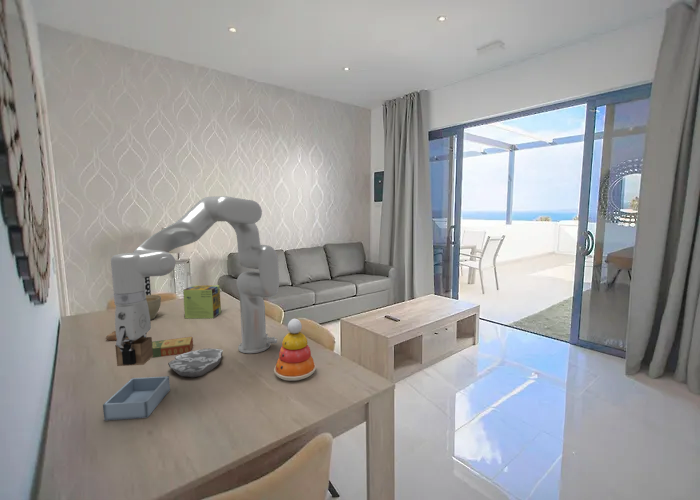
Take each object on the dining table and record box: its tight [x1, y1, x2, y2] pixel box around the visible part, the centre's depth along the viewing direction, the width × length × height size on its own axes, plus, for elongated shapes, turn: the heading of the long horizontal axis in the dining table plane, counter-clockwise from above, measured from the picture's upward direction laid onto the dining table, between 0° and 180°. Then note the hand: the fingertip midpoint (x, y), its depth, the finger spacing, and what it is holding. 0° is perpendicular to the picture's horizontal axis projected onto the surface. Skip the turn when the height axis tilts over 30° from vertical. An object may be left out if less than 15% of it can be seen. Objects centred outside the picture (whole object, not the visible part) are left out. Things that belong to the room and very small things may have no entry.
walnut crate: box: [115, 336, 153, 367], centre depth 97 cm, size 7×6×6 cm
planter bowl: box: [146, 294, 162, 321], centre depth 177 cm, size 16×16×11 cm
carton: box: [151, 336, 194, 359], centre depth 136 cm, size 8×16×4 cm, turn 108°
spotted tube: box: [145, 276, 152, 295], centre depth 199 cm, size 8×8×20 cm
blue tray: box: [102, 375, 171, 421], centre depth 99 cm, size 11×14×4 cm
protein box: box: [182, 284, 222, 320], centre depth 181 cm, size 10×15×16 cm
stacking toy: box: [273, 318, 317, 382], centre depth 116 cm, size 14×14×20 cm
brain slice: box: [167, 348, 224, 378], centre depth 122 cm, size 20×17×3 cm
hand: (135, 358), depth 97 cm, fingers closed on walnut crate, 5 cm apart
